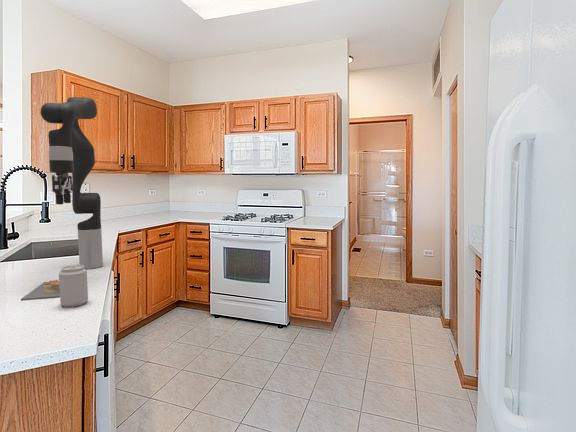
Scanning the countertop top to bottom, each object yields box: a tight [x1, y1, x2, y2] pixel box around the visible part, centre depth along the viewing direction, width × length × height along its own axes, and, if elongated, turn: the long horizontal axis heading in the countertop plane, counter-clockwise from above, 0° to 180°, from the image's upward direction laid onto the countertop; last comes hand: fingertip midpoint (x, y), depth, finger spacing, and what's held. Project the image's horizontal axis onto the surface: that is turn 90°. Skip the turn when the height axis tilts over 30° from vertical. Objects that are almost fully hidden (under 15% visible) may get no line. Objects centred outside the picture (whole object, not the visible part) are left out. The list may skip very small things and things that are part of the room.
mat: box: [20, 281, 60, 301], centre depth 126 cm, size 20×14×1 cm
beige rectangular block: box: [44, 279, 60, 294], centre depth 122 cm, size 8×5×3 cm, turn 106°
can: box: [58, 264, 89, 308], centre depth 111 cm, size 8×8×12 cm
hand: (63, 203), depth 131 cm, fingers open, 8 cm apart
